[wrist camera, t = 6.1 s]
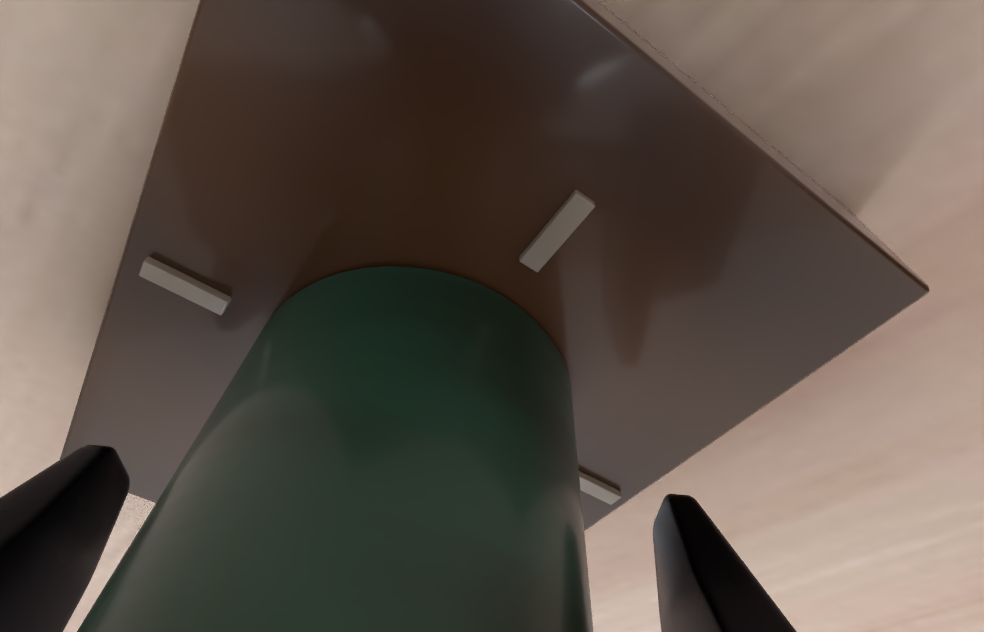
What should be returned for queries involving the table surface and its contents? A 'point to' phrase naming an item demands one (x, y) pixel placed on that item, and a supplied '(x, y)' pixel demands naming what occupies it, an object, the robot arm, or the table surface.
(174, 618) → the rotary knob
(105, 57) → the table surface
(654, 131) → the dial knob base plate
